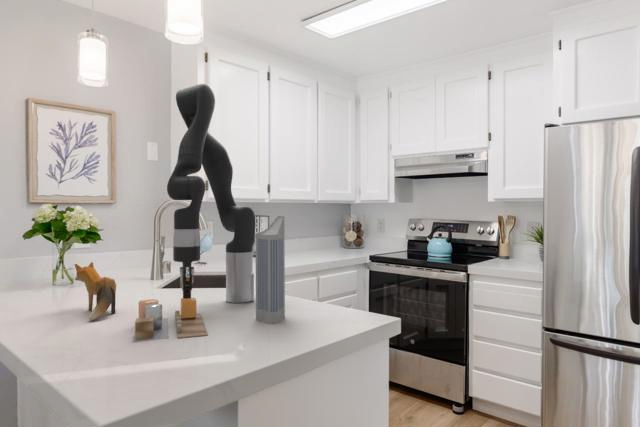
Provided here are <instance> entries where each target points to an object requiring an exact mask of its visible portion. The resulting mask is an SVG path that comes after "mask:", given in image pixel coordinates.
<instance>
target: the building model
mask: <svg viewBox="0 0 640 427" xmlns="http://www.w3.org/2000/svg"><path fill="white" fill-rule="evenodd" d="M285 244H286V243H285V216H284V215H283V216H279V215H278V216H277V217H276V218H275V219H274V220H273V221H272V223H271V224H270V225H269V226H268V227H266V229H264V230H263V231H260V232H256V233H255V320H256V321H260V322H263V323H267V324H268V325H270V324H272V325H273V324H279V322H280V321H281V320H283V319H286V318H285V317H286V315H285V314H286V310H285V309H286V307H285V306H286V304H285V303H286V302H285V301H286V300H285V298H286V297H285V296H286V295H285V294H286V290H285V288H286V287H285V286H286V282H285V280H286V279H285V276H286V275H285V274H286V273H285V270H286V268H285V265H286V263H285V256H286V254H285V250H286V249H285Z"/></svg>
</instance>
